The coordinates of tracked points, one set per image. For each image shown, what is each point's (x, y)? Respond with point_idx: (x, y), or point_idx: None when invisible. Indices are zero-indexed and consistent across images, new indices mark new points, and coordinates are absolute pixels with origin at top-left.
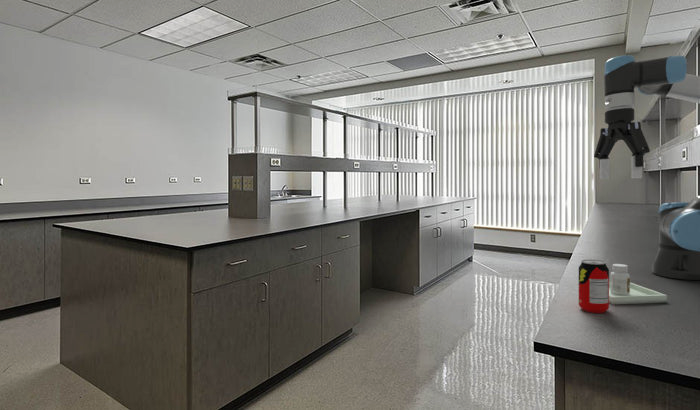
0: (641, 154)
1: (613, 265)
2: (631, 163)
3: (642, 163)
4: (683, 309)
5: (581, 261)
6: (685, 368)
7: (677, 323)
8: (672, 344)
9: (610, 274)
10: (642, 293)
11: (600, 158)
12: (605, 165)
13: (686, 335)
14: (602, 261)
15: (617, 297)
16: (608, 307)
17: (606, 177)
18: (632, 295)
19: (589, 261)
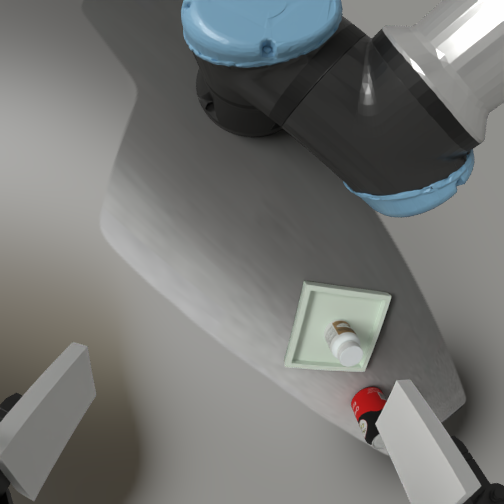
0: (487, 500)
1: (346, 366)
2: (408, 493)
3: (464, 452)
4: (412, 298)
5: (375, 448)
6: (462, 399)
7: (431, 345)
8: (446, 383)
9: (335, 357)
10: (351, 299)
11: (8, 491)
12: (41, 439)
13: (446, 361)
14: None
15: (366, 365)
16: (381, 391)
17: (84, 372)
18: (353, 322)
19: (380, 441)
